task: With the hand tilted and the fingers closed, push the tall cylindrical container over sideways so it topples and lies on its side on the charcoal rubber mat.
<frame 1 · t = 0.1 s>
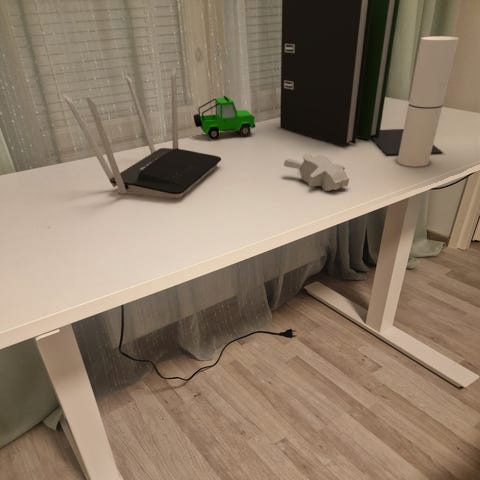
toy car: (224, 135, 126), on the table
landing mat: (400, 142, 115), on the table
cylindrical container: (412, 162, 103), on the table
ring binders: (327, 133, 124), on the table, touching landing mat
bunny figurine: (316, 182, 95), on the table
wireless router: (158, 179, 99), on the table
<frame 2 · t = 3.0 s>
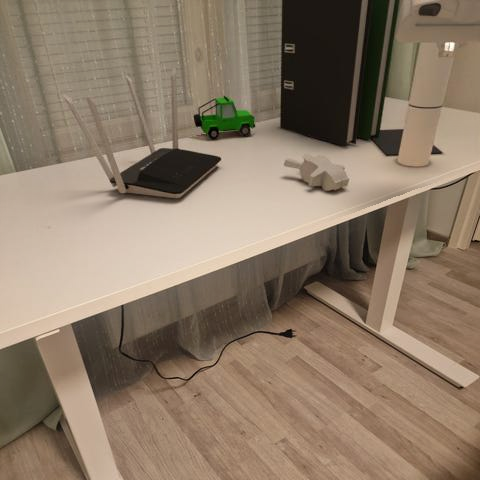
hand: (446, 54, 79), 24 cm above the table, tool tilted 45°, fingers closed
nothing on the table moved.
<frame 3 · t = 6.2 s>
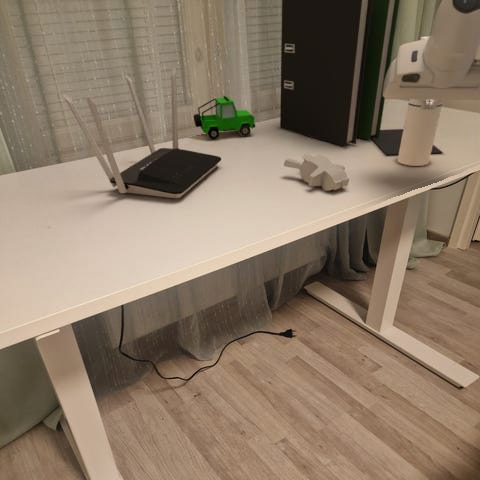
hand: (427, 106, 92), 13 cm above the table, tool tilted 45°, fingers closed
nothing on the table moved.
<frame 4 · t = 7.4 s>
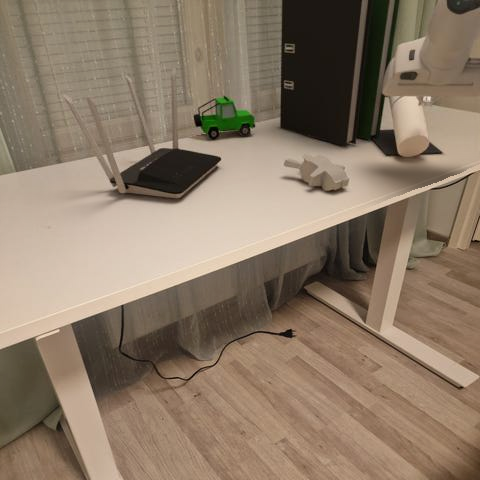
hand: (425, 103, 96), 13 cm above the table, tool tilted 45°, fingers closed
cylindrical container: (413, 147, 102), point 3 cm above the table
everything else where it was.
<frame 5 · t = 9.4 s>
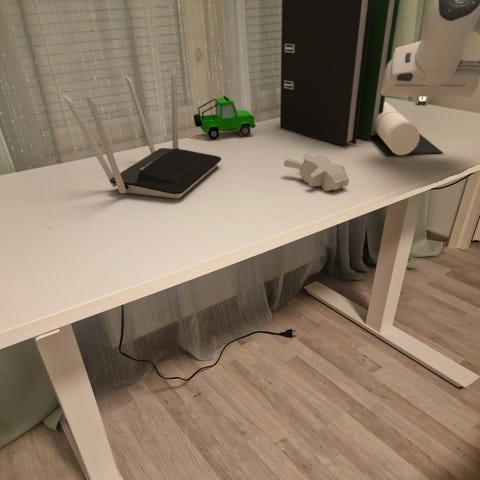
hand: (420, 102, 102), 11 cm above the table, tool tilted 45°, fingers closed
cylindrical container: (404, 140, 103), point 4 cm above the table, touching ring binders, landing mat
ring binders: (327, 133, 124), on the table, touching cylindrical container, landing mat
everything else where it was.
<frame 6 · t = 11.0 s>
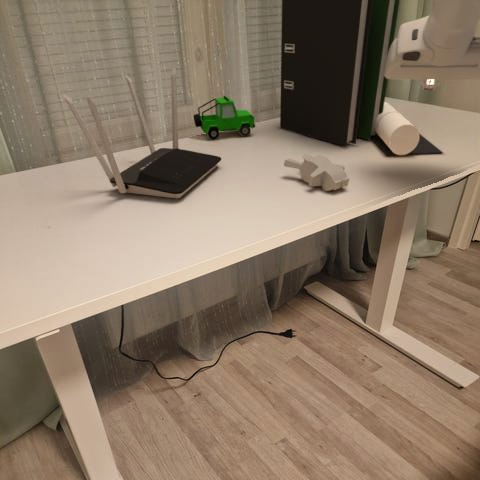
hand: (428, 86, 93), 16 cm above the table, tool tilted 45°, fingers closed
nothing on the table moved.
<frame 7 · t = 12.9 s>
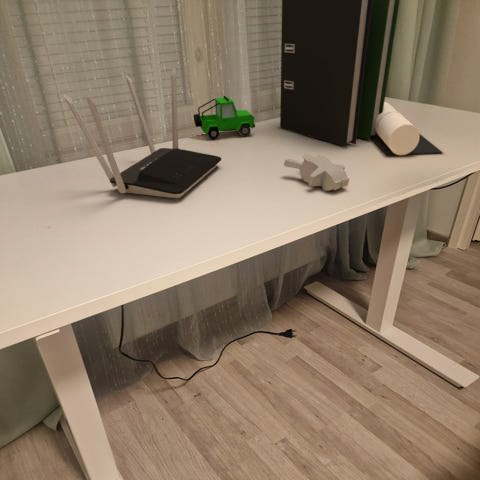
nothing on the table moved.
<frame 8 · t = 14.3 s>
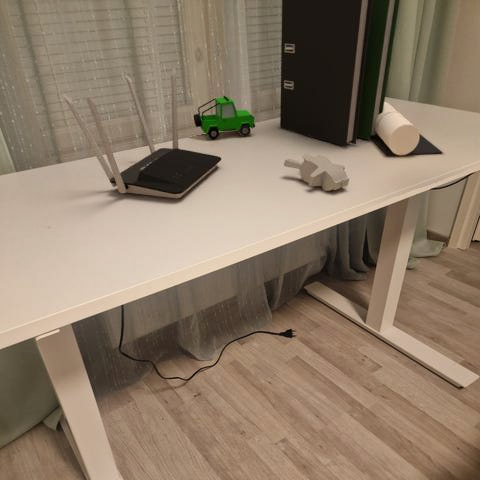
nothing on the table moved.
at the end: cylindrical container tilted 90°; cylindrical container touching ring binders, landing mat; cylindrical container inside the target area (1.7 cm from its centre), point 4.0 cm above the table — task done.
